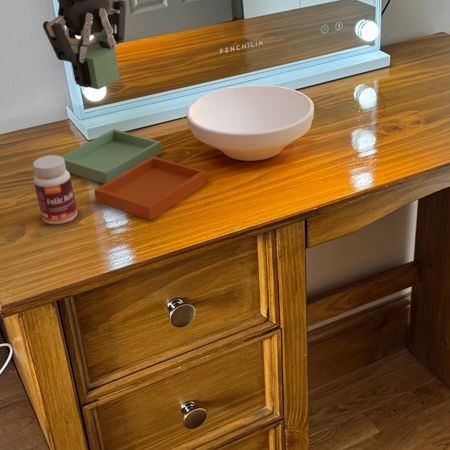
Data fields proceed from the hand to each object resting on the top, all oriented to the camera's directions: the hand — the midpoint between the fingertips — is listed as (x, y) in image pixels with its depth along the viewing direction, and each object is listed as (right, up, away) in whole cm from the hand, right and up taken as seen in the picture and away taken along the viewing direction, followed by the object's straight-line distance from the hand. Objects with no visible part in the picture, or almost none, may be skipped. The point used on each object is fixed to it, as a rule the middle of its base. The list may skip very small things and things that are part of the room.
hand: (97, 79), depth 112 cm
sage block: (0, 0, 0) cm, 0 cm away
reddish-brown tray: (+9, -17, -2) cm, 19 cm away
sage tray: (0, -11, +7) cm, 13 cm away
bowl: (+22, -10, +9) cm, 26 cm away
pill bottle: (-3, -20, -7) cm, 22 cm away
